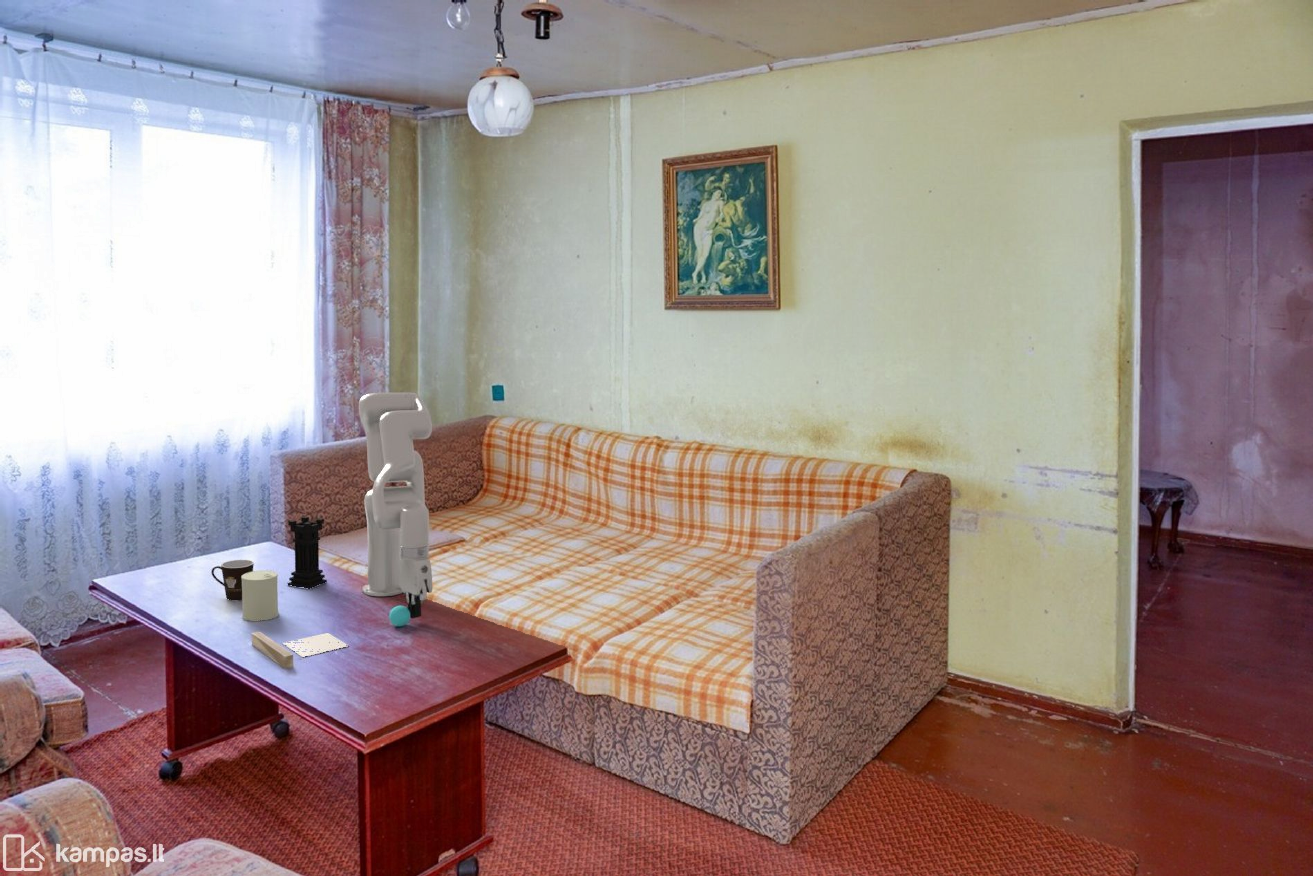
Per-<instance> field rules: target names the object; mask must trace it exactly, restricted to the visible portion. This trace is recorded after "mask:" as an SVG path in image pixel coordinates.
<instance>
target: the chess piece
mask: <svg viewBox="0 0 1313 876" xmlns="http://www.w3.org/2000/svg"><path fill="white" fill-rule="evenodd" d="M300 519H301V520H300V521H299V522H297V520H293V519H292V520H291V519H290V520H288V522H287V525H288V526H290V533H291V532H293V533H294V538H292V542H293V543H294V569H295V570H294V571H291V572H290V574H291V577H289V579H288V580H289V582H287V584H288V585H292V586H296V587H295V588H298V587H304V588H308V589H307V590H311V589H313V588H312V587H314V588H316V587H318V586H317V585H319V584H321V585H324V584H326V583H327V582H328V580H327V579H324V578H326V577H325V574H322V573H323V572H324V571H323V569H320V567H319V566H320V554H319V552H320V551H319V546H320V545H319V543H320V542H319V541H320V540H321V536H319V531H321V530H323V524H325V519H324V518H317V519H315V521H311V520H310V517H309V516H301V517H300ZM325 582H326V583H325ZM323 583H324V584H323ZM287 584H286V585H287ZM292 586H291V587H292ZM315 586H316V587H315ZM319 586H320V585H319ZM304 588H303V589H304ZM310 588H311V589H310Z"/></svg>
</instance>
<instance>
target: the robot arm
mask: <svg viewBox="0 0 1313 876" xmlns="http://www.w3.org/2000/svg"><path fill="white" fill-rule="evenodd" d="M358 415H359V419H360V423H361V425H362V428H363V430H364V434H365V436H366V437H365V438H366V453H367V455H366V456H367V469H368V471H367V473H368V477H369V479H370V480H371V482H373V486H372V489H370V490H369V491H367V492H366V494H365V496H364V499H363V503H364V511H365V516H366V526H367V584H365V585H364V586H362V593H364V594H365V595H367V596H371V597H393V596H396V595H400V594H402V593H404V595H405V597H406V602H407V609H408V610H409V612H410V619H417V618H420V617H422V603H423V602H424V601H425V600H428V594H430V593H432V592H433V573H432V564H431V559H430V554H429V553H430V546H429V545H430V537H429V536H430V511H429V509H428V508H427V505H426V503H425V502H426V501H425V500H426V498H425V497H426V496H425V477H424V476H425V473H424V462H423V458H422V456H421V454H420V453H419V452H418V451H417V450H415V449H414V448H415V447H414V441H413V440H426V439H428V438H429V437H430V436H431V435H432V432H433V424H432V418H431V415H430V413H429V410H428V408H427V406H426V405H425V403H424V401H423V399H422V397H421V396H420V395H419V394H417V393H416V392H371V393H367V394H365V395H363V396H361V398H360V399H359V401H358ZM400 482H405V483H406V485H402V486H401V485H399V486H386V484H387V483H400Z"/></svg>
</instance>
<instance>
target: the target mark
mask: <svg viewBox="0 0 1313 876" xmlns="http://www.w3.org/2000/svg"><path fill="white" fill-rule="evenodd" d="M297 640H298V641H294V640H290V641H286V643H285V642H282V643H281V644H282V645H283V646H285V645H287V646H285V647H286V648H287V649H289V650H290V649H291V650H290V651H292V650H293V651H295V652H294V653H295V654H296V653H297V654H296V655H298V656H299V657H300V658H303V657H304V658H306V657H305V656H308V657H311V655H312V656H315V654H316V655H320V653H321V654H324V653H323V652H325V653H327V652H326V651H329V652H333V651H337V650H340V649H339V648H341V649H344V648H343V647H346V648H349V647H348V646H346V645H348V644H346V642H344V641H342V640H340V639H339V638H337V637H335V636H334V635H332V634H330V633H329V632H326V633H321V634H317V635H313V636H307V637H304V638H298V639H297ZM301 640H302V641H301ZM287 642H291V643H287ZM293 642H300V643H296V644H295V643H293ZM301 642H304V643H301ZM308 642H309V643H308ZM329 642H330V643H329ZM338 642H339V643H338ZM294 645H295V646H294ZM292 647H295V648H292ZM300 647H301V648H300ZM298 649H300V650H298ZM305 649H307V650H305ZM312 649H313V650H312ZM319 649H320V650H319ZM334 649H335V650H334ZM336 649H337V650H336ZM332 650H333V651H332ZM293 651H292V652H293ZM296 651H299V652H296ZM302 651H306V652H302ZM310 651H313V652H310ZM317 651H319V652H317Z"/></svg>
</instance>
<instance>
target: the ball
mask: <svg viewBox="0 0 1313 876" xmlns="http://www.w3.org/2000/svg"><path fill="white" fill-rule="evenodd" d="M410 619H411V618H410V612H409V610H408V607H406V606H404V605H396V606H394V607H393V608H392V609H391V610H390V611H389V621H390V623H391V624H392V625H393V626H395V627H403V626H405V625H407V624H408V623H409V621H410Z"/></svg>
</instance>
